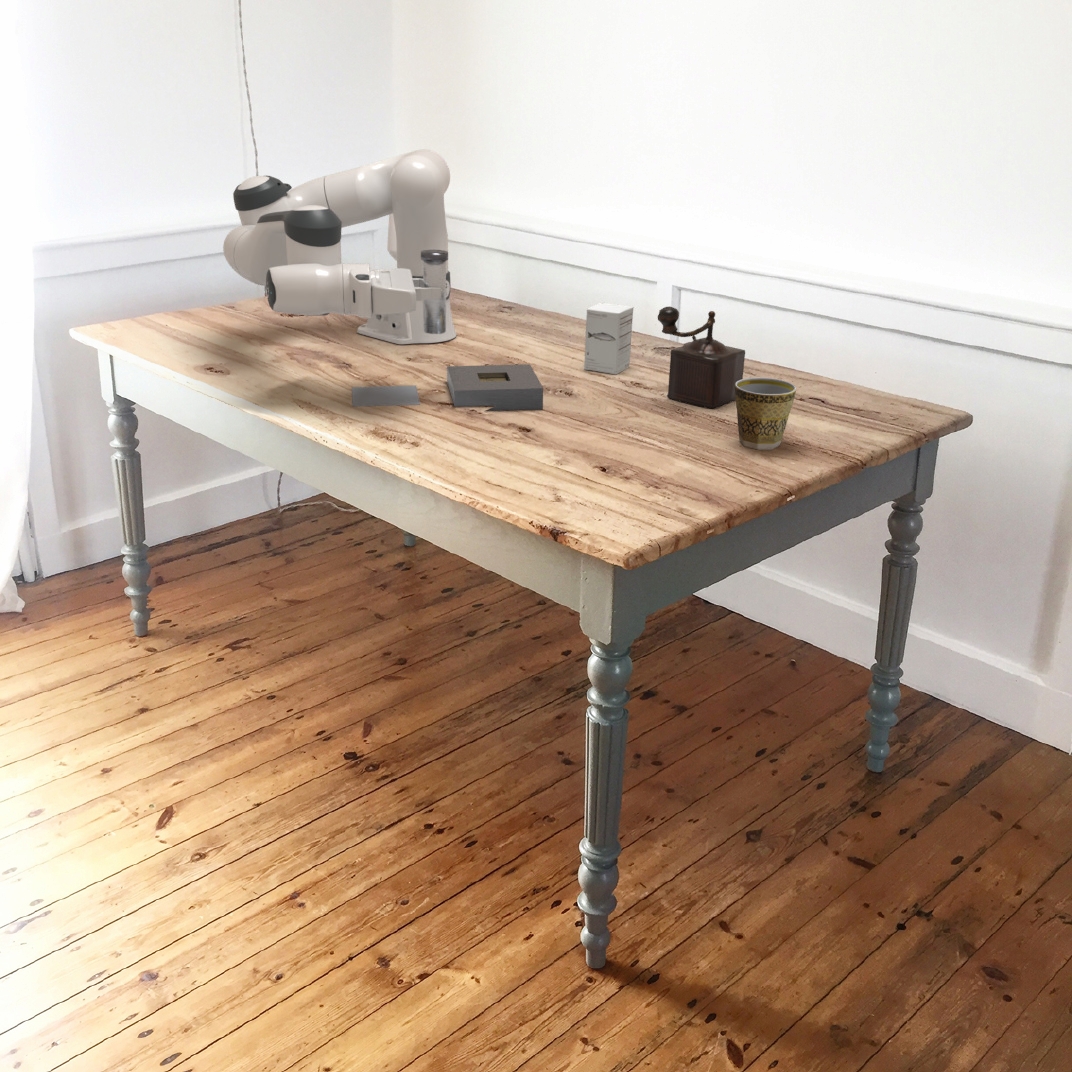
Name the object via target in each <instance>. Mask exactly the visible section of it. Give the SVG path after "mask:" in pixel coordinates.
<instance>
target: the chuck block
mask: <svg viewBox="0 0 1072 1072" xmlns="http://www.w3.org/2000/svg"><path fill="white" fill-rule="evenodd" d="M488 378H506V381H484V382H480V380H479V379H488ZM446 384H447V386H448V390H449V392H450V396H451V399H452V402H453V407H454V408H465V407H468V408H470V407H471V408H472V407H491V408H488V409H485V412H504V411H505V412H507V411H508V412H509V411H533V410H534V411H536V410H537V411H541V410H543V409H544V387H543V385H542V384H541V382H540V379H539V378H538V376H537V373H535V370H534V369H533V366H532V365H531V364H530V363H529V364H528V363H526V364H493V365H492V364H490V365H487V364H484V365H483V364H482V365H449V366H448V365H447V366H446Z"/></svg>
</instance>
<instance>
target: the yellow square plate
mask: <svg viewBox="0 0 1072 1072" xmlns="http://www.w3.org/2000/svg"><path fill="white" fill-rule="evenodd" d="M479 380H480V382H484V381H506V378H488V379H479Z"/></svg>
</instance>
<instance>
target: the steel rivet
mask: <svg viewBox="0 0 1072 1072" xmlns="http://www.w3.org/2000/svg"><path fill="white" fill-rule="evenodd" d="M421 260H423V288H429V287H440V289H441V297H440V298H435V299H427V300H423V319H424V332H425V333H429V334H442V333H445V332H446V261H447V260H448V261H449V251H448V252H447V251H444V250H423V251H421Z"/></svg>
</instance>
